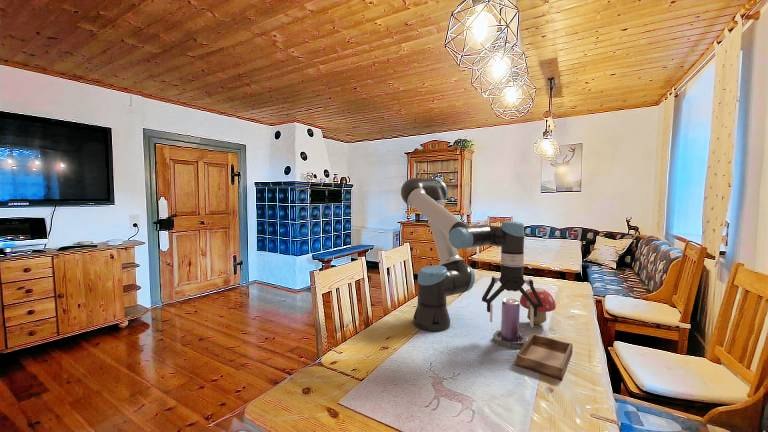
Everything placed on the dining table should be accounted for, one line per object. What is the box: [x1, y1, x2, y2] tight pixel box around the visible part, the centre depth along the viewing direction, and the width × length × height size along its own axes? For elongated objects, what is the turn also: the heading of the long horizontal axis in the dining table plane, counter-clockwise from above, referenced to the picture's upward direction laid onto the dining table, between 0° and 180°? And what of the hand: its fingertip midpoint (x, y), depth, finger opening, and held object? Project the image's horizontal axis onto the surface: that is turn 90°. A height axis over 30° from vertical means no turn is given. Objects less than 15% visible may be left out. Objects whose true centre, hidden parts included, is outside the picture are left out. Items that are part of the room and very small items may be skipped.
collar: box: [492, 330, 528, 350], centre depth 115 cm, size 10×10×2 cm
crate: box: [515, 333, 574, 381], centre depth 103 cm, size 13×20×4 cm, turn 142°
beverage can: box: [500, 298, 521, 342], centre depth 115 cm, size 6×6×15 cm
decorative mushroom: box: [519, 287, 557, 326], centre depth 131 cm, size 13×13×15 cm
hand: (511, 323), depth 115 cm, fingers open, 13 cm apart
